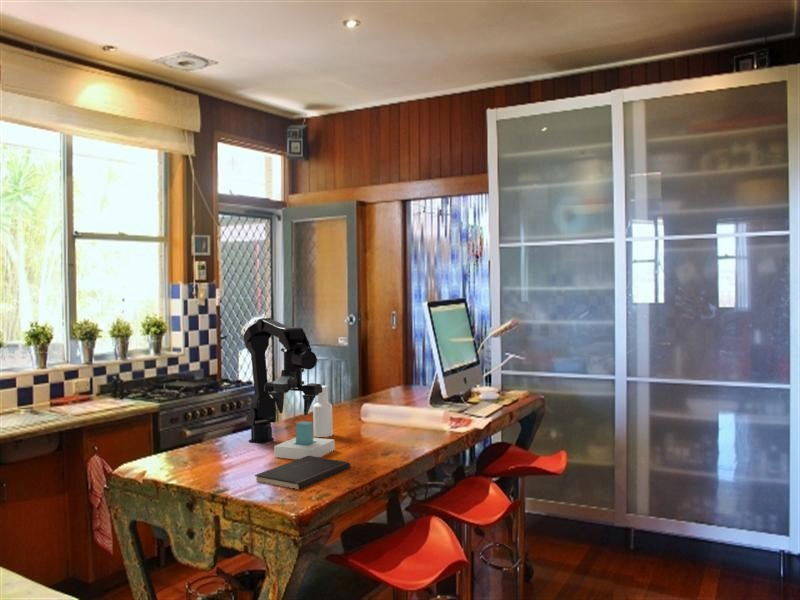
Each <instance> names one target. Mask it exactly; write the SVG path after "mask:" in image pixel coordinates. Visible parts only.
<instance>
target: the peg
mask: <svg viewBox="0 0 800 600" xmlns="http://www.w3.org/2000/svg"><path fill="white" fill-rule="evenodd" d="M295 437H296V445H305V446H309V445H311V444H313V438H314V421H313V422H312V421H305V420H304V421H303V420H302V421H299V422H296V423H295Z"/></svg>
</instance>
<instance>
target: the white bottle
mask: <svg viewBox="0 0 800 600" xmlns="http://www.w3.org/2000/svg"><path fill="white" fill-rule="evenodd" d="M321 386H322V392H321V393H319V395H316V403H315V404H313V406H312V409H313V410H312V411H313V412H312V413H313V414H312V416H313V437H314V438H319V437H325V438H329V436H330V437H332V436H333V433H334V431H333V404H332V403H330V402H329V392H328V385H321Z"/></svg>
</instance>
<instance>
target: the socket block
mask: <svg viewBox="0 0 800 600" xmlns="http://www.w3.org/2000/svg"><path fill="white" fill-rule="evenodd" d="M335 445H336V444H335V439H333V438H332V439H330V438H319V437H313V444H311V445H309V446H305V445H296V436H295V437H293V438H291V439H288V440H286V441H283V442H281V443H279V444H275V445H274V446H273V448H274V449H273V450H274V451H273V452H274V453H273V454H274V456H273V457H274V458H278V457H279V459H287V460H289V459H290V460H297V459H301V458H303V457H306V456H313V457H319V458H323V457H324V456H326V455H328V454H330V453H332V452H334V451H336V448H335ZM333 450H334V451H333ZM331 451H332V452H331ZM329 452H330V453H329ZM327 453H328V454H327ZM325 454H326V455H325Z"/></svg>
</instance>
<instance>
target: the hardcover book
mask: <svg viewBox="0 0 800 600" xmlns="http://www.w3.org/2000/svg"><path fill="white" fill-rule="evenodd" d="M349 468H350V469H351V463H350V462H348V461H345V460H338V459H337V460H336V459H331V458H325V457H320V458H319V457H313V456H306V457H303V458H301V459H298V460H297V459H294V460H293V461H290V462H287V463H284V464H281V465H279V466H276V467H273V468H270V469H268V470H266V471H265V470H264V471H262V472H259V473H257V474H254V477H256V482H258V481H261V482H260V483H263V482H266V483H265V484H268V483H271V484H270V485H273V484H274V486H278V485H279V487H283V486H284V487H283V488H288V487H289V488H290V489H293V488H295V489H294V490H298V489H300V490H303V489H305V488H307V487H309V485H310V486H311V484H312V485H314V484H317V483H319V482H322V481H324V480H326V479H329V478H331V477H334V476H335V474H336V475H337V474H340V473H343V472H344V470H345V471H348V470H349ZM342 471H343V472H342ZM330 476H331V477H330ZM325 478H326V479H325ZM323 479H324V480H323ZM318 481H319V482H318ZM316 482H317V483H316ZM306 486H307V487H306ZM304 487H305V488H304Z"/></svg>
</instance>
